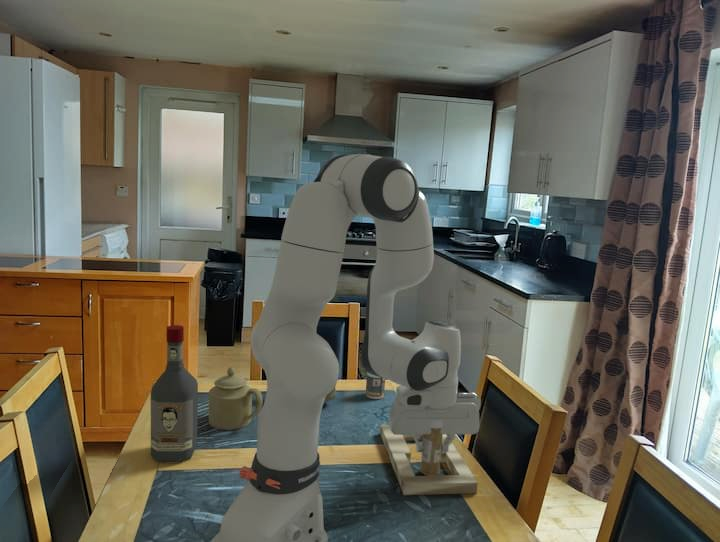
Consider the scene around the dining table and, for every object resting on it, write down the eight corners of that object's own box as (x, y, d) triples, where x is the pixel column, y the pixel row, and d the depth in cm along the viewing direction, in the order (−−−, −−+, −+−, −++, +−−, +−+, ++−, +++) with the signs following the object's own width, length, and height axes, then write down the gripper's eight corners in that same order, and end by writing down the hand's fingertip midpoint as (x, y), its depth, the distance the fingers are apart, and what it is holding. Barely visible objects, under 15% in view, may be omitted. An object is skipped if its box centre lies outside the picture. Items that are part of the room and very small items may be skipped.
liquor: (159, 443, 128) (159, 321, 124) (198, 444, 129) (200, 322, 125) (148, 463, 119) (147, 332, 115) (190, 463, 120) (192, 333, 116)
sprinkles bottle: (442, 477, 121) (447, 420, 119) (422, 477, 120) (427, 420, 118) (436, 466, 125) (441, 411, 123) (417, 466, 124) (422, 411, 122)
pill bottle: (385, 399, 163) (388, 368, 161) (367, 399, 162) (369, 368, 160) (382, 392, 169) (384, 362, 167) (363, 392, 168) (365, 361, 166)
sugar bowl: (269, 415, 148) (271, 362, 145) (260, 433, 137) (261, 376, 134) (216, 410, 148) (217, 358, 146) (202, 428, 137) (203, 372, 135)
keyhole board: (476, 493, 116) (477, 479, 115) (403, 495, 113) (404, 481, 113) (439, 433, 143) (440, 422, 142) (379, 433, 140) (380, 422, 140)
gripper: (476, 387, 124) (471, 443, 126) (389, 387, 121) (385, 444, 123) (486, 398, 118) (480, 457, 120) (395, 398, 115) (390, 458, 117)
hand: (431, 450), depth 122 cm, fingers closed on sprinkles bottle, 4 cm apart
